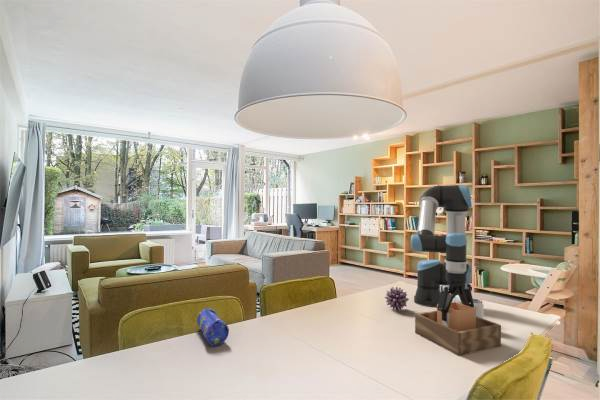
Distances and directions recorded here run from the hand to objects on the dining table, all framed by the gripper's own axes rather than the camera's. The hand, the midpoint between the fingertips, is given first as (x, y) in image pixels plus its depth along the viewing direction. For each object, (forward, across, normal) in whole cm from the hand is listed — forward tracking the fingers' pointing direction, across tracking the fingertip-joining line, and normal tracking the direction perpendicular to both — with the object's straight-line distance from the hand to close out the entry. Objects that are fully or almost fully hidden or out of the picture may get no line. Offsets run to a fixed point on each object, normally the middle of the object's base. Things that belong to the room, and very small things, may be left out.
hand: (456, 326), depth 130 cm
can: (+5, +18, +6) cm, 20 cm away
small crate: (+1, 0, 0) cm, 1 cm away
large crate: (+5, 0, 0) cm, 5 cm away
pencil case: (+6, -91, +38) cm, 99 cm away
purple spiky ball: (+5, +1, +38) cm, 38 cm away
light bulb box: (+5, +23, +17) cm, 29 cm away
